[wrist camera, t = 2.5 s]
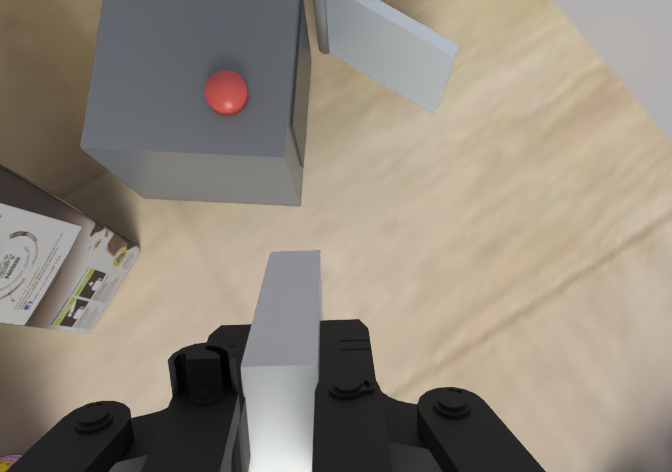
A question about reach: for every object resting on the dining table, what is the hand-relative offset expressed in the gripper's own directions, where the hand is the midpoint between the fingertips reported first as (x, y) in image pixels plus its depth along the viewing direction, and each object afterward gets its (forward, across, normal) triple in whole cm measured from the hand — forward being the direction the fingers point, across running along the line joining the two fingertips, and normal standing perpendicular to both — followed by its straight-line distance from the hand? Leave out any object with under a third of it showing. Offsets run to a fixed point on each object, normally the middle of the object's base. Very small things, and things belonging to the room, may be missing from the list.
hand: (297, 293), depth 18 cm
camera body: (+22, -5, +2) cm, 23 cm away
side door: (+22, +4, +5) cm, 23 cm away
